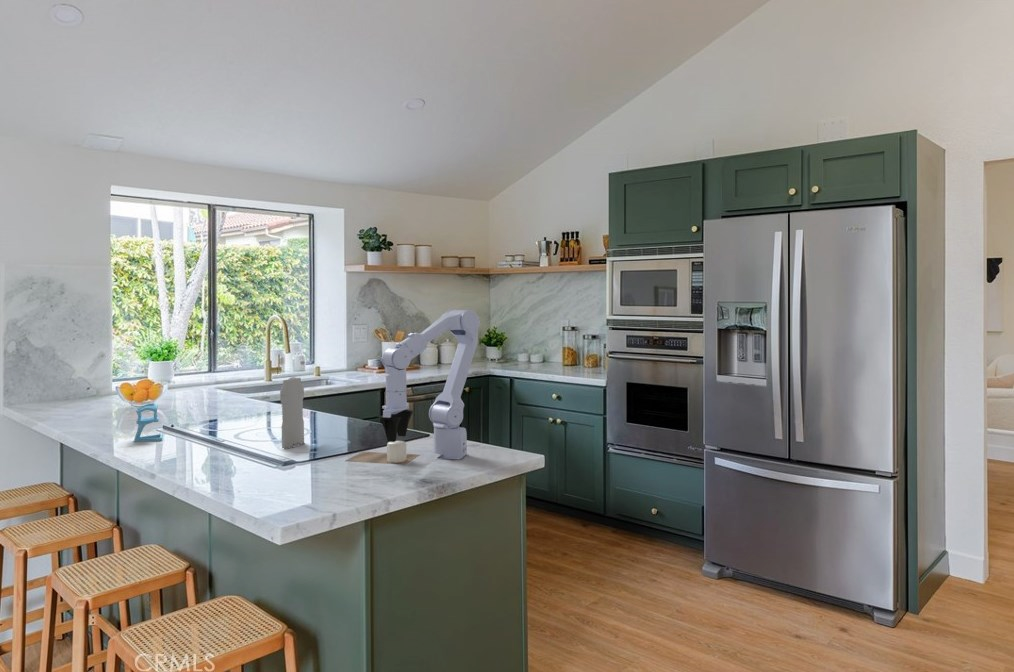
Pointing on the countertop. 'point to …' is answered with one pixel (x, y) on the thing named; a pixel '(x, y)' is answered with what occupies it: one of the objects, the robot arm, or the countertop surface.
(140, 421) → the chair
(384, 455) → the post board
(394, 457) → the cap
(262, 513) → the countertop surface
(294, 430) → the tall pale column
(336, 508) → the countertop surface
